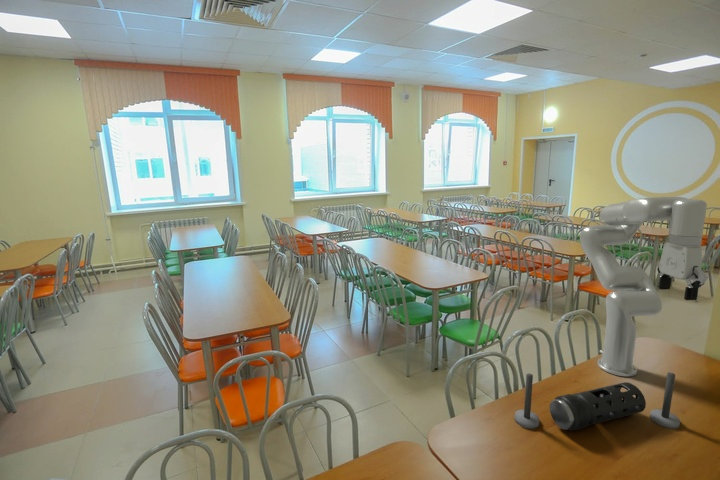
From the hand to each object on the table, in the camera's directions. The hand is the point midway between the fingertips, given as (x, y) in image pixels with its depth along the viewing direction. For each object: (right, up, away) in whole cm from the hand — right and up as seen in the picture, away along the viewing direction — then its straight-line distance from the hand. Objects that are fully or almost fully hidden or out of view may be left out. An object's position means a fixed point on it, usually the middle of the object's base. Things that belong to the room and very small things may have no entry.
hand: (676, 294), depth 111 cm
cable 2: (-4, -39, 0) cm, 39 cm away
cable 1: (-46, -40, +1) cm, 61 cm away
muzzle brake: (-25, -40, +1) cm, 47 cm away
